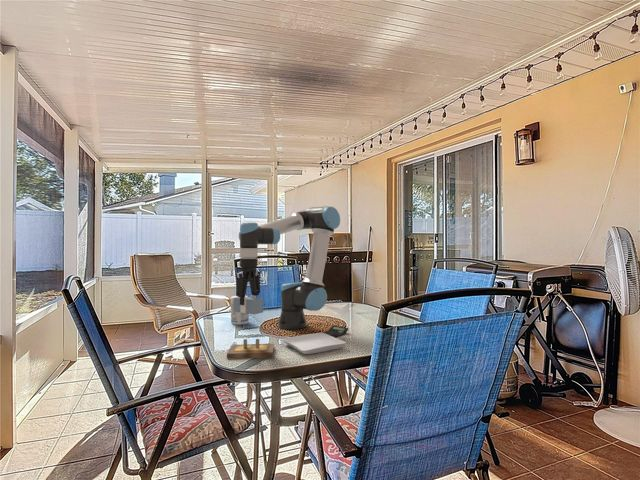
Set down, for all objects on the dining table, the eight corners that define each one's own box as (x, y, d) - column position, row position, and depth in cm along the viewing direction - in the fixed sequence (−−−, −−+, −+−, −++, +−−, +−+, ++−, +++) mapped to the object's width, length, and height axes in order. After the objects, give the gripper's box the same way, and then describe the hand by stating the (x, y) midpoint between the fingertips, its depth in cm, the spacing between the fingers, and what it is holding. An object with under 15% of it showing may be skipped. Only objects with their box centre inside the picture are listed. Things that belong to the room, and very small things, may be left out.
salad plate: (281, 345, 168) (281, 337, 168) (322, 338, 178) (322, 331, 178) (302, 359, 149) (302, 350, 149) (347, 350, 160) (347, 342, 160)
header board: (274, 348, 162) (274, 334, 162) (272, 357, 150) (272, 343, 150) (231, 349, 161) (231, 336, 161) (226, 358, 149) (226, 344, 149)
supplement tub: (248, 320, 214) (248, 294, 214) (249, 324, 205) (248, 297, 205) (230, 321, 212) (230, 295, 212) (230, 325, 203) (230, 298, 203)
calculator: (318, 335, 183) (318, 329, 183) (333, 330, 192) (333, 324, 192) (333, 339, 177) (333, 332, 177) (348, 333, 186) (348, 327, 186)
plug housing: (233, 311, 165) (233, 297, 165) (242, 309, 170) (242, 296, 170) (254, 314, 159) (254, 300, 159) (263, 312, 163) (263, 298, 163)
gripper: (256, 257, 174) (255, 307, 174) (226, 258, 158) (226, 314, 158) (269, 257, 170) (268, 309, 170) (240, 259, 154) (239, 316, 154)
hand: (248, 311), depth 164 cm, fingers closed on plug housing, 5 cm apart
